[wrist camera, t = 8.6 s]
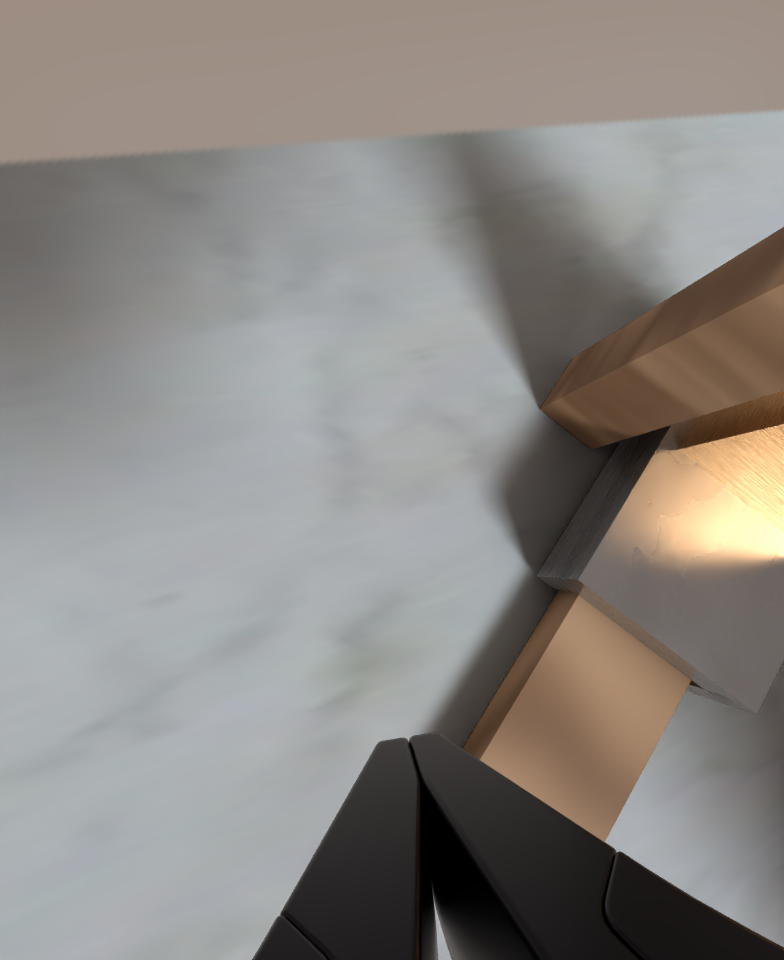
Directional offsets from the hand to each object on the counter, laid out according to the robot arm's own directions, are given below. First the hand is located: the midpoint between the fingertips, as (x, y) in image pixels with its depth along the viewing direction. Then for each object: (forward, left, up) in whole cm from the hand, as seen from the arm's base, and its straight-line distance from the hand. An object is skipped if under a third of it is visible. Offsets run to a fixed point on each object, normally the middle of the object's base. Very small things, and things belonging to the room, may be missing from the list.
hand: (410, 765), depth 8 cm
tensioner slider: (+8, -10, -12) cm, 17 cm away
